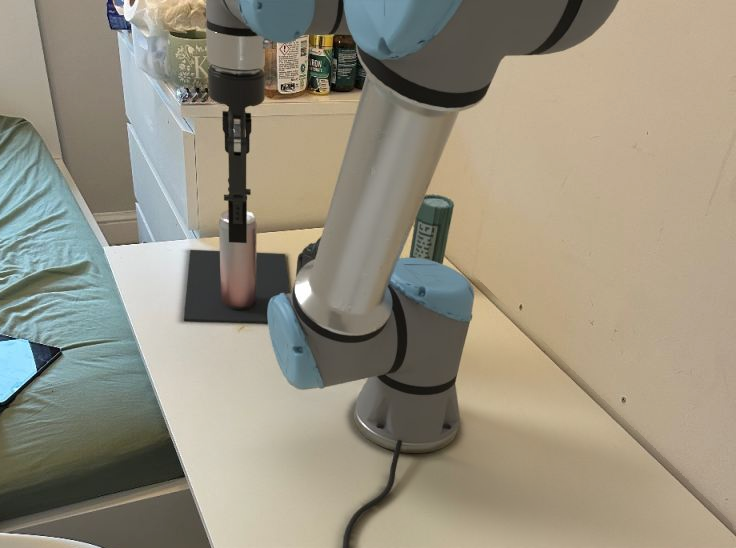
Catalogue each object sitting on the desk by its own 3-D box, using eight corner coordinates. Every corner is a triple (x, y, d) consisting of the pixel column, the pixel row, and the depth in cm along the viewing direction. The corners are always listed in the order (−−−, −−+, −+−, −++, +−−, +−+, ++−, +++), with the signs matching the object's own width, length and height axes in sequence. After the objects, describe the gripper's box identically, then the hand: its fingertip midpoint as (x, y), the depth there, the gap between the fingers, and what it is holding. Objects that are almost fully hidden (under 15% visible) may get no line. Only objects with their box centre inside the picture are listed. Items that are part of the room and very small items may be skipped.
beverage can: (218, 295, 128) (215, 209, 118) (252, 293, 130) (252, 208, 120) (224, 312, 124) (222, 224, 114) (259, 310, 126) (260, 223, 116)
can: (442, 278, 143) (458, 200, 132) (431, 290, 138) (446, 210, 128) (414, 269, 144) (427, 191, 134) (401, 281, 140) (414, 201, 130)
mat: (292, 324, 125) (292, 322, 124) (183, 320, 122) (183, 318, 122) (284, 255, 143) (284, 253, 143) (190, 251, 140) (190, 249, 140)
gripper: (266, 83, 93) (263, 260, 109) (263, 56, 102) (261, 224, 119) (206, 78, 92) (212, 258, 108) (208, 52, 101) (213, 221, 117)
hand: (237, 240), depth 113 cm, fingers closed
